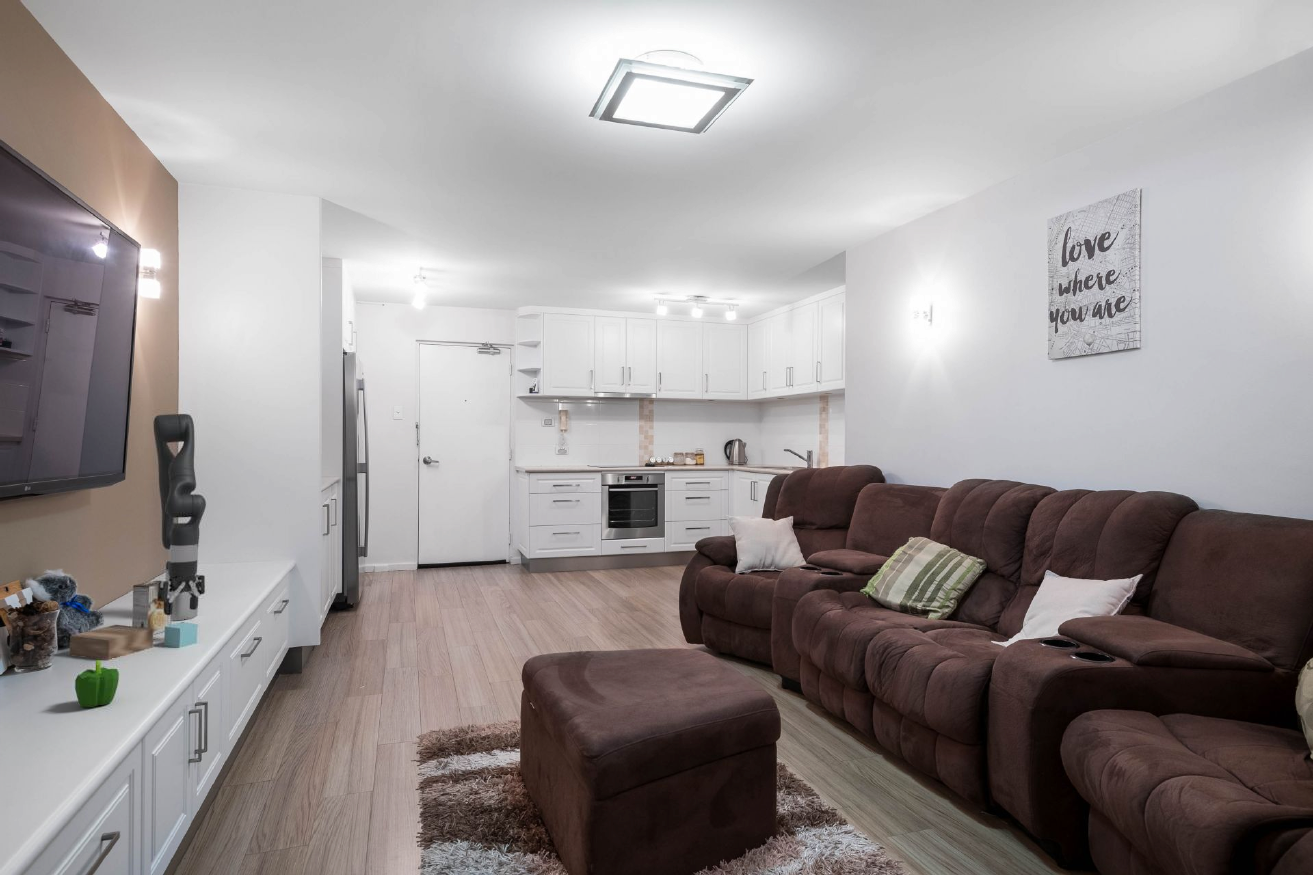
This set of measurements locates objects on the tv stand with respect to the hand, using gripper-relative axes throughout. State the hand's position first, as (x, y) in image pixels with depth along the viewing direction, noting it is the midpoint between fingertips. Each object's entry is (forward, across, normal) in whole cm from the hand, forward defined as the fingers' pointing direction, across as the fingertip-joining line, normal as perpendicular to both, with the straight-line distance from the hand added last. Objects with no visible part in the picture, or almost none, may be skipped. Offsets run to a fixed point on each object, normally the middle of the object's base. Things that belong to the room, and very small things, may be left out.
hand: (180, 611), depth 228 cm
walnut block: (+10, +13, -11) cm, 20 cm away
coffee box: (+10, -7, -20) cm, 24 cm away
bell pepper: (+11, +45, +27) cm, 54 cm away
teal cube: (+10, 0, 0) cm, 10 cm away
